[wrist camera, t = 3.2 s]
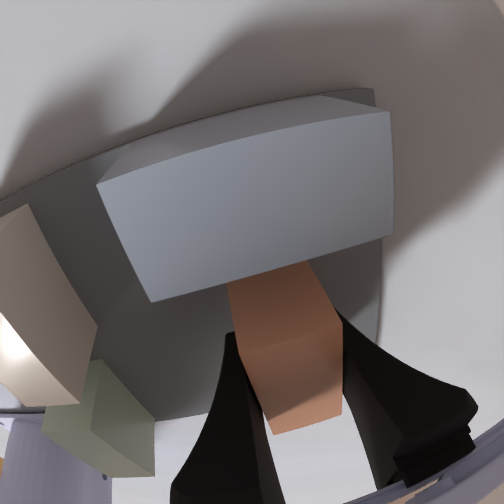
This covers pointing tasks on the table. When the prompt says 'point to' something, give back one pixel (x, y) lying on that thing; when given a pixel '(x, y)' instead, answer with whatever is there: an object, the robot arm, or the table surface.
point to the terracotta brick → (289, 345)
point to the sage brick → (105, 426)
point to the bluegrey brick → (251, 192)
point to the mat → (175, 308)
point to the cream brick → (39, 319)
